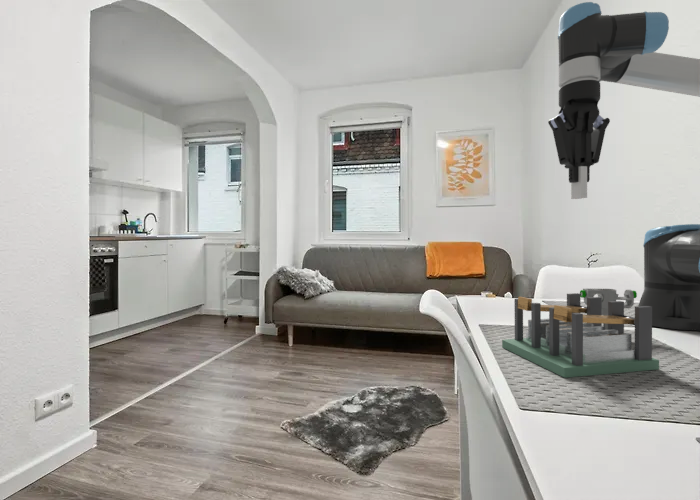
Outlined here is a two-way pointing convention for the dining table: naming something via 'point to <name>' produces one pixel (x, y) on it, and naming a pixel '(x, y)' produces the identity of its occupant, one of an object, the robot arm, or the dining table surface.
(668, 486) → the dining table surface
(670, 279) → the robot arm
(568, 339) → the heatsink
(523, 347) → the socket board
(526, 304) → the strap
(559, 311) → the strap
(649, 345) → the set of grey pegs
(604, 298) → the mechanical component
